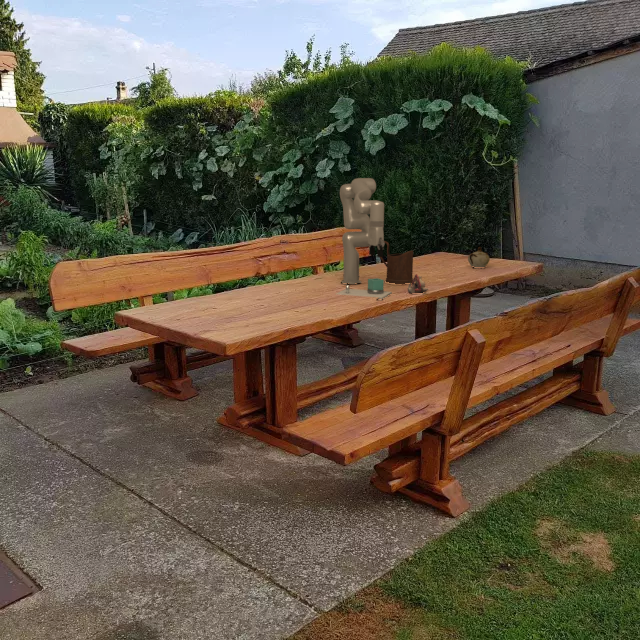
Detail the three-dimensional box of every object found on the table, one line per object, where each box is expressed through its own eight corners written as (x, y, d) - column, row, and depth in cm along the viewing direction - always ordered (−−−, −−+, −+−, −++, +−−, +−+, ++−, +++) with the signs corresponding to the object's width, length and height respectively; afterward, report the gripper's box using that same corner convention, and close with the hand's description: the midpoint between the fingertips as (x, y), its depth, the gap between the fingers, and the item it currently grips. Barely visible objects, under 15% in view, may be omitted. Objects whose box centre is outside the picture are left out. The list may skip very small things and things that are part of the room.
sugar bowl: (478, 265, 491) (479, 245, 488) (495, 268, 480) (496, 246, 477) (461, 268, 479) (462, 247, 476) (477, 270, 468) (478, 249, 465)
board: (346, 291, 389) (346, 288, 389) (391, 294, 379) (391, 291, 379) (334, 296, 372) (334, 294, 371) (381, 300, 362) (381, 297, 362)
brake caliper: (401, 287, 386) (413, 270, 386) (414, 298, 390) (426, 281, 390) (409, 291, 375) (422, 273, 375) (423, 302, 379) (435, 284, 380)
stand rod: (346, 292, 376) (346, 284, 375) (349, 293, 375) (350, 285, 374) (345, 293, 374) (345, 285, 373) (348, 293, 373) (348, 285, 372)
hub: (370, 290, 381) (370, 279, 380) (385, 292, 378) (385, 280, 377) (365, 293, 373) (365, 282, 372) (380, 294, 370) (381, 283, 369)
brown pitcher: (404, 286, 406) (406, 244, 400) (371, 282, 420) (371, 241, 415) (419, 282, 420) (421, 242, 415) (386, 278, 434) (387, 239, 429)
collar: (367, 288, 377) (368, 278, 376) (378, 287, 379) (378, 278, 378) (373, 290, 371) (373, 280, 370) (383, 289, 374) (383, 280, 372)
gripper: (363, 223, 374) (363, 254, 378) (377, 226, 358) (377, 258, 362) (375, 223, 377) (375, 253, 380) (390, 225, 361) (389, 257, 365)
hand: (376, 255), depth 371 cm, fingers open, 9 cm apart
